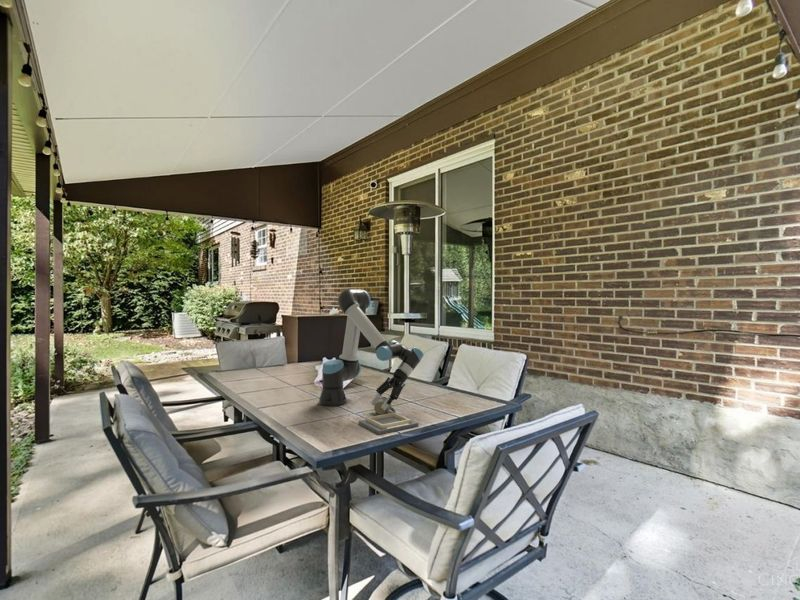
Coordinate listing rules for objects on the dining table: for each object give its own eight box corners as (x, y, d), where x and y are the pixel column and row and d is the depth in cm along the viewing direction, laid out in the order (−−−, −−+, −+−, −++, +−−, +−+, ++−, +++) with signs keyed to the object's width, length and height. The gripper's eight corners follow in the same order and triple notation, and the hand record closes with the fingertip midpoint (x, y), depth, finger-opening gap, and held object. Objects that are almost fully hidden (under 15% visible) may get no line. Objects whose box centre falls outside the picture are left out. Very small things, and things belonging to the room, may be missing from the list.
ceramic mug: (373, 415, 215) (373, 400, 215) (377, 410, 223) (377, 396, 223) (393, 416, 213) (394, 401, 213) (396, 412, 221) (397, 397, 221)
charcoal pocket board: (358, 424, 201) (358, 417, 201) (396, 416, 213) (396, 410, 213) (378, 434, 186) (378, 427, 186) (418, 426, 198) (418, 419, 198)
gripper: (419, 380, 218) (393, 416, 209) (394, 373, 237) (370, 406, 228) (411, 371, 215) (384, 406, 206) (387, 365, 234) (361, 397, 225)
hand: (377, 406), depth 217 cm, fingers closed on ceramic mug, 10 cm apart
